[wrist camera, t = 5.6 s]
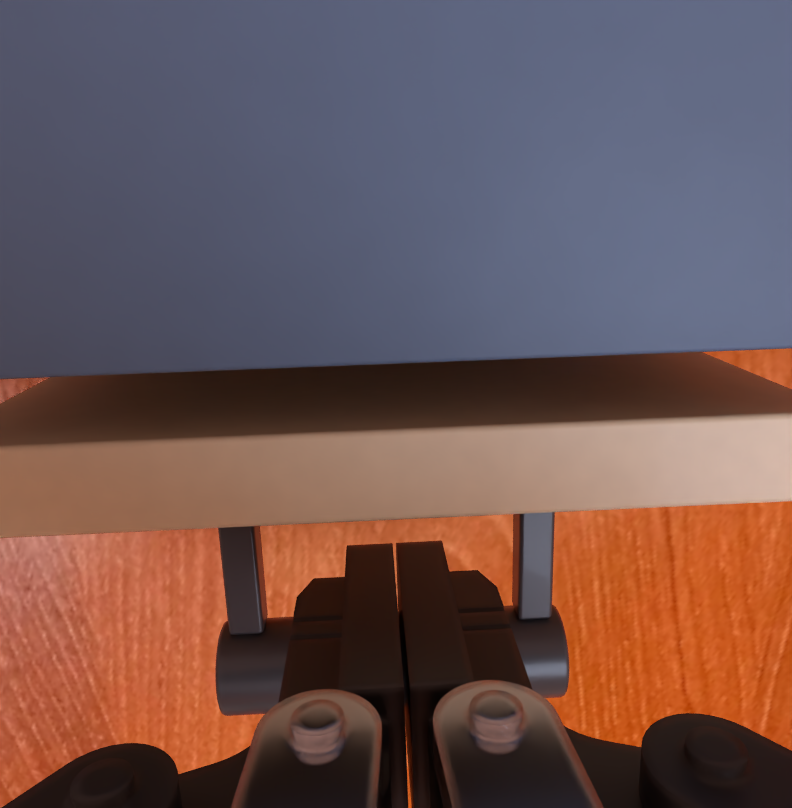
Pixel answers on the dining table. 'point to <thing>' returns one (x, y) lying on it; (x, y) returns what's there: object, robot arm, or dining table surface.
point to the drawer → (387, 466)
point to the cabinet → (390, 181)
